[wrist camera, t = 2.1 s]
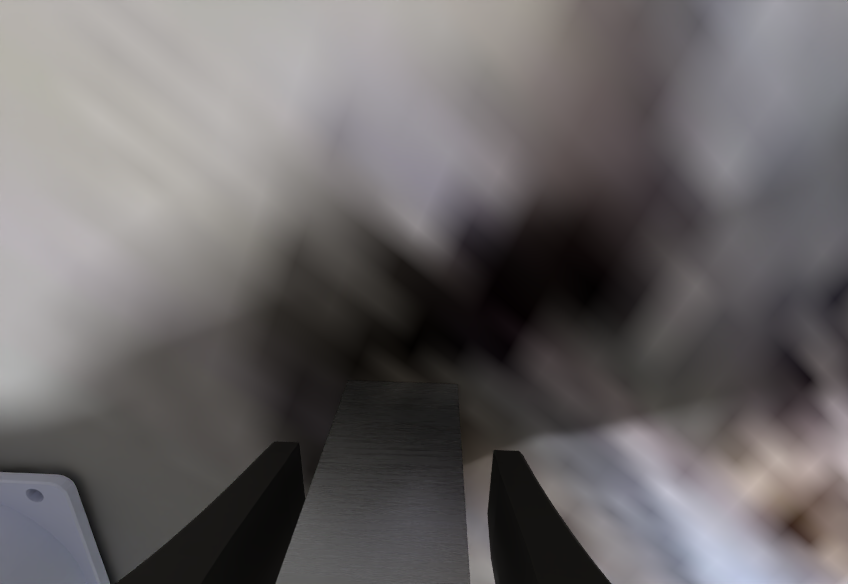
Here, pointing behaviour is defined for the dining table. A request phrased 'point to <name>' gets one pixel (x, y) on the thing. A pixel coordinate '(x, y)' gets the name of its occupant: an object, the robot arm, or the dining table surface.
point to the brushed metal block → (386, 492)
